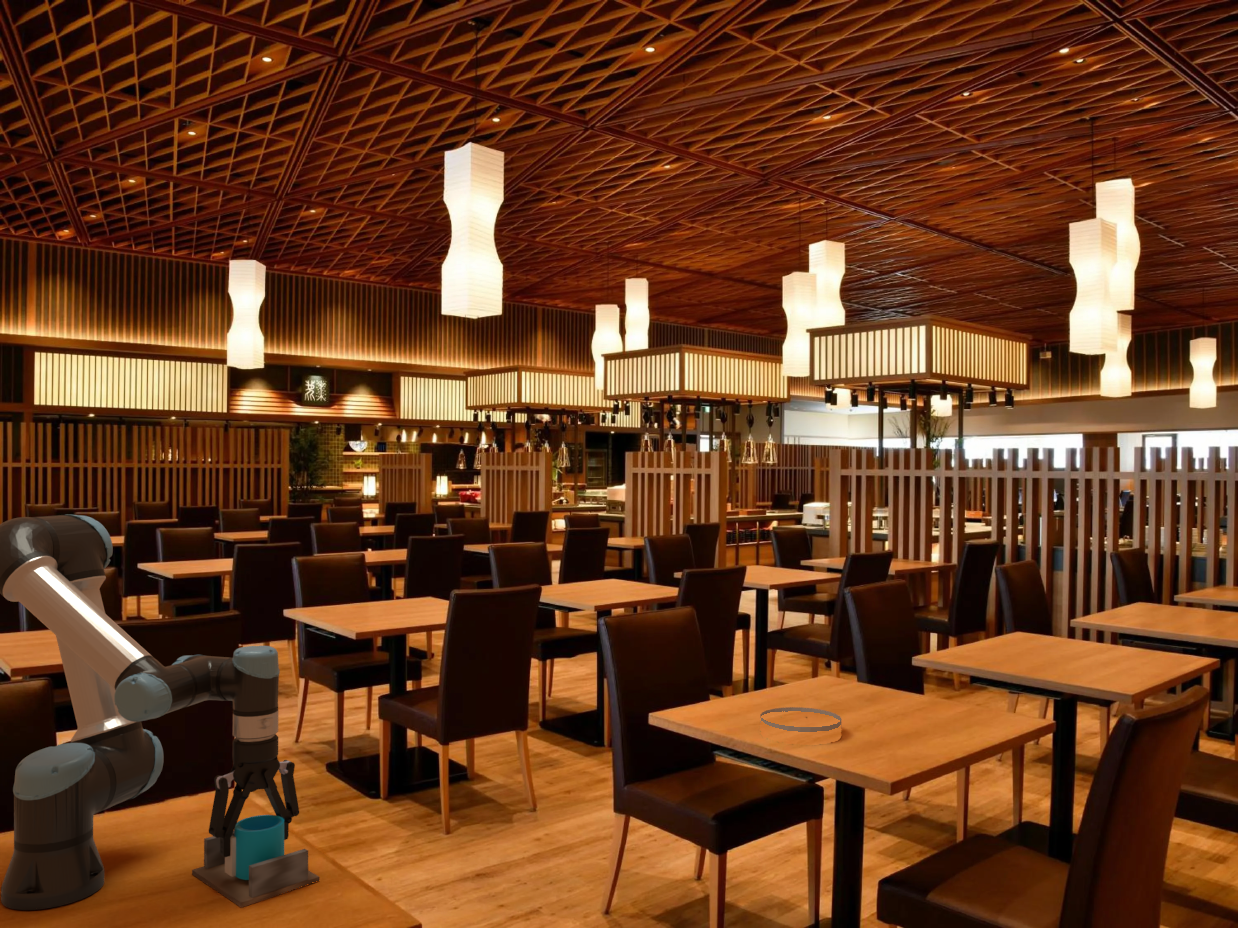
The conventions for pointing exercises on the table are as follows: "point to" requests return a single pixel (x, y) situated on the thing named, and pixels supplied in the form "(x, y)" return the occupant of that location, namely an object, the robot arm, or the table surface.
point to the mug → (257, 841)
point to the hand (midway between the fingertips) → (254, 865)
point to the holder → (254, 875)
